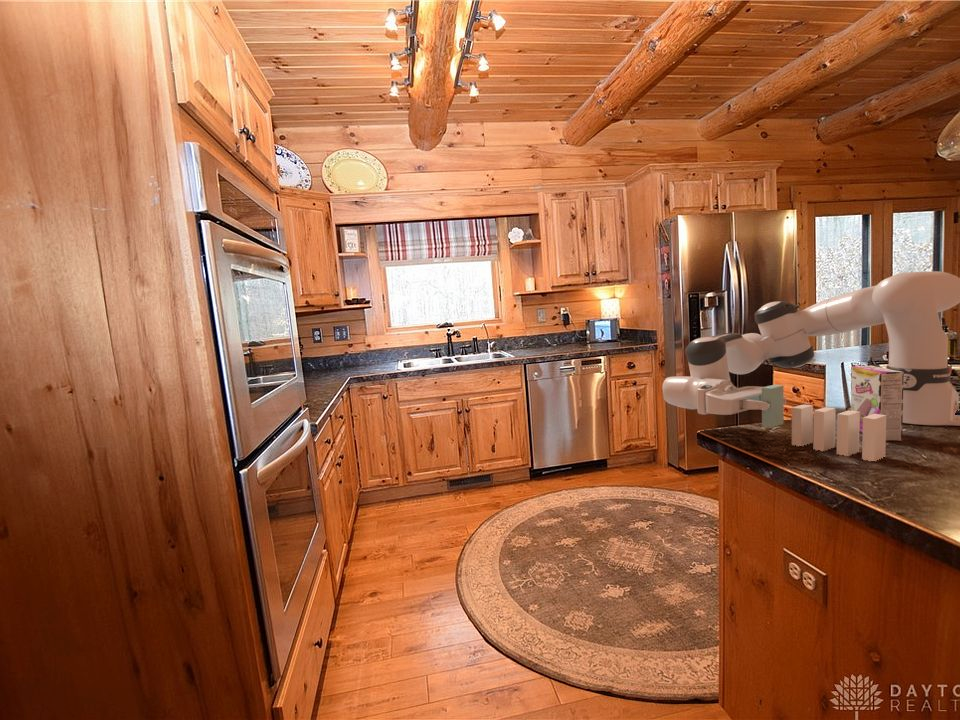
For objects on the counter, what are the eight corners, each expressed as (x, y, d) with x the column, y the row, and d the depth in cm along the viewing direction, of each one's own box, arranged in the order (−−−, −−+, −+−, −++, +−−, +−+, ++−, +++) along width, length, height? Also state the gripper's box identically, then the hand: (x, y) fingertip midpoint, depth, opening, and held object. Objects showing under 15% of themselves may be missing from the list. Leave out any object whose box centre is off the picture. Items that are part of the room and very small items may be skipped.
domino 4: (848, 449, 98) (848, 410, 97) (859, 451, 97) (859, 411, 96) (836, 454, 96) (837, 413, 95) (847, 456, 94) (848, 415, 93)
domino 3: (824, 445, 102) (825, 407, 101) (834, 447, 101) (835, 408, 100) (813, 449, 100) (813, 410, 99) (823, 451, 98) (823, 412, 97)
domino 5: (873, 454, 94) (874, 413, 93) (885, 457, 93) (886, 415, 92) (862, 459, 92) (862, 417, 91) (874, 462, 90) (875, 419, 89)
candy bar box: (848, 429, 113) (849, 365, 112) (871, 428, 112) (872, 365, 111) (878, 441, 102) (880, 371, 101) (903, 441, 101) (905, 371, 100)
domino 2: (803, 441, 106) (803, 404, 105) (812, 442, 105) (813, 405, 104) (791, 444, 104) (791, 407, 103) (801, 446, 102) (801, 408, 101)
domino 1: (774, 422, 104) (774, 384, 103) (783, 423, 102) (783, 385, 101) (762, 426, 101) (761, 387, 101) (771, 427, 100) (770, 388, 99)
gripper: (743, 402, 118) (801, 410, 106) (693, 415, 108) (750, 425, 96) (743, 379, 117) (801, 384, 105) (693, 389, 108) (750, 396, 96)
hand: (776, 403), depth 100 cm, fingers closed on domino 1, 5 cm apart
